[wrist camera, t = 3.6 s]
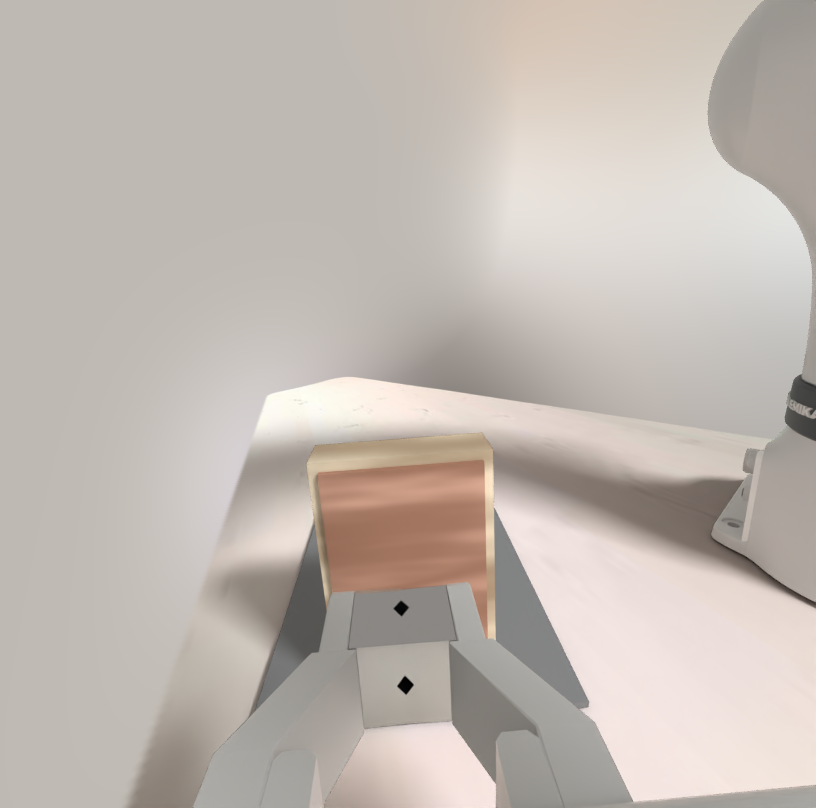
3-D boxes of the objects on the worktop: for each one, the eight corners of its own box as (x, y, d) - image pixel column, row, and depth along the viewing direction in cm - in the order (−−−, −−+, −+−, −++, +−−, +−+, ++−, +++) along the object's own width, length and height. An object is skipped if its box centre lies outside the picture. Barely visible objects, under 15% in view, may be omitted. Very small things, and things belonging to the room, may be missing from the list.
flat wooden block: (497, 683, 24) (494, 451, 20) (337, 698, 23) (305, 466, 20) (486, 643, 26) (482, 432, 23) (342, 656, 26) (315, 445, 22)
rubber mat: (588, 707, 22) (588, 701, 22) (249, 738, 22) (247, 733, 22) (491, 505, 44) (491, 501, 44) (318, 519, 43) (317, 515, 43)
